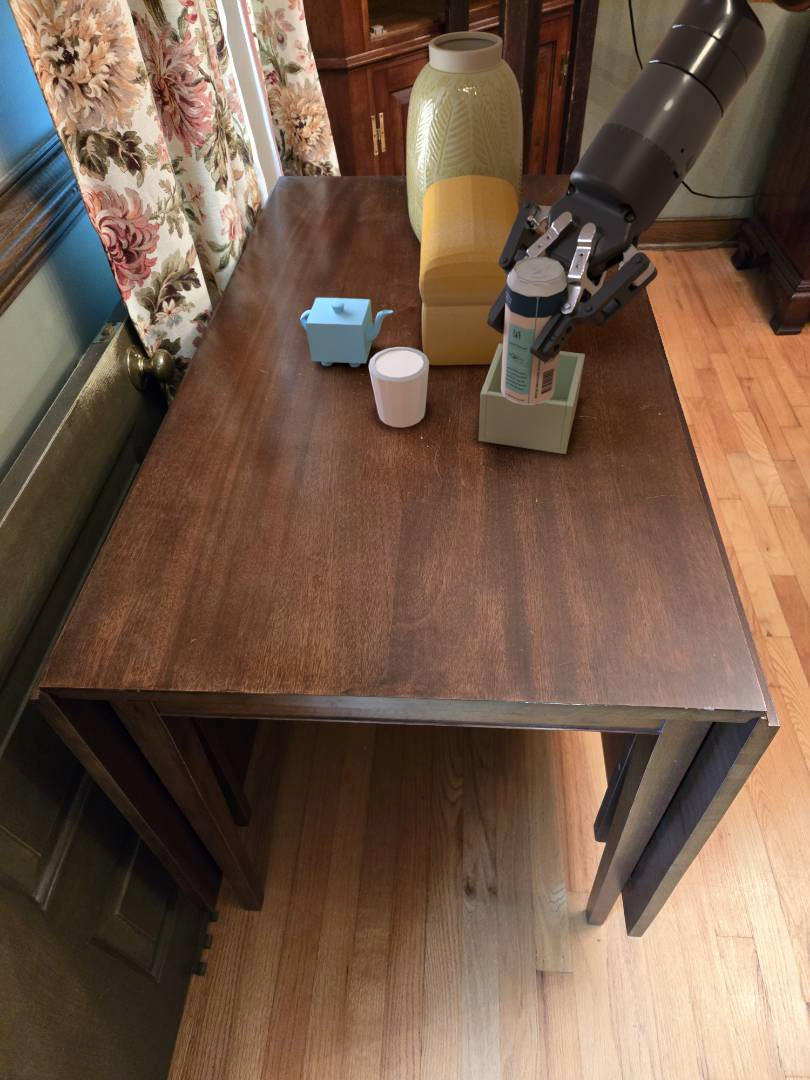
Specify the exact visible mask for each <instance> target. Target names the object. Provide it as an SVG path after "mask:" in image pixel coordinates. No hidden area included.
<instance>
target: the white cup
mask: <svg viewBox="0 0 810 1080" xmlns="http://www.w3.org/2000/svg"><path fill="white" fill-rule="evenodd" d="M429 368H430V365H429V360H428V358H427V356H426V355H425V354H424V353H423V351H421V350H419V349H417V348H413V347H410V346H395V347H388V348H385V349H382V350H380V351H378V352H377V353H375V354H374V355H373V356H372V357H371V358H370V360H369V362H368V370H369V376H370V380H371V385H372V391H373V394H374V399H375V404H376V405H375V406H376V410H377V415H378V417H379V420H380V421H381V422H382V423H384V424H385V425H387V426H389V427H392V428H407V427H412V426H414V425H416V424H419V423H420V422H421V421H422V419H424V417H425V413H426V404H427V396H428V395H427V393H428V381H429Z"/></svg>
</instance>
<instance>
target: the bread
mask: <svg viewBox="0 0 810 1080" xmlns="http://www.w3.org/2000/svg"><path fill="white" fill-rule="evenodd" d="M519 209H520V208H519ZM519 209H518V203H517V196H516V192H515V189H514V188H513V186H512V185H511V184H510V183H509V182H507V181H506V180H503V179H500V178H495V177H487V176H480V175H466V176H458V177H453V178H448V179H444V180H440V181H438V182H435V183H434V184H432V185H431V186H430V187H429V188H428V190H427V191H426V193H425V196H424V201H423V219H422V239H421V244H420V261H419V262H420V263H419V281H418V282H419V283H418V287H419V295H420V298H421V301H422V303H421V305H422V306H421V341H422V353H423V354H425V355H426V356H427V358H428V360H429V366H480V365H481V366H482V365H483V366H484V365H491V364H492V361H493V358H494V356H495V353H496V350H497V348H498V345H499V343H500V344H503V339H504V334H500V333H499V332H497V331H496V330H495V329H493V328H492V327H490V326H489V325H488V324H487V320H488V318H489V316H488V314H489V311H490V309H491V307H492V306H493V304H494V303H495V301H496V300H497V298H498V296H499V295H500V293H501V292H502V290H503V289H504V287H505V286H506V284H507V275H506V274H505V272H504V270H503V269H502V268H501V267H500V266H499V264H498V261H499V258H500V256H501V253H502V251H503V248H504V246H505V243H506V241H507V238H508V236H509V234H510V231H511V229H512V226H513V224H514V221H515V219H516V216H517V214H518V212H519Z"/></svg>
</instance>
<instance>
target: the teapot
mask: <svg viewBox="0 0 810 1080" xmlns="http://www.w3.org/2000/svg"><path fill="white" fill-rule="evenodd" d="M393 313H394V310H392V309H383V310H381V311H379V312H378V313H377V314H376V316H375V318H374V322H373V313H372V300H371V299H369V298H347V297H346V298H344V297H342V298H340V297H316V298H315V299H314V302H313V304H312V307H311V309H307V310H305V311H304V312H303V313H302V314H301V317H300V324H301V326H302V327H303V328H304V330H305V331H306V336H307V341H308V347H309V354H310V360H311V362H319V363H320V362H321V365H322V366H325V367H329V366H331V365H333V364H334V363H344V364H345V363H346V364H347V363H348V365H349V366H350V367H351V368H358V367H360V366H361V364H367V361H368V358H369V354H370V350H371V348H372V344H373V341H374V340H376V338H377V337H378V336H379V333H380V331H381V327H382V323H383V321H384V319H385V317H387V316H388V315H390V314H393ZM306 317H307V319H306Z"/></svg>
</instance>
